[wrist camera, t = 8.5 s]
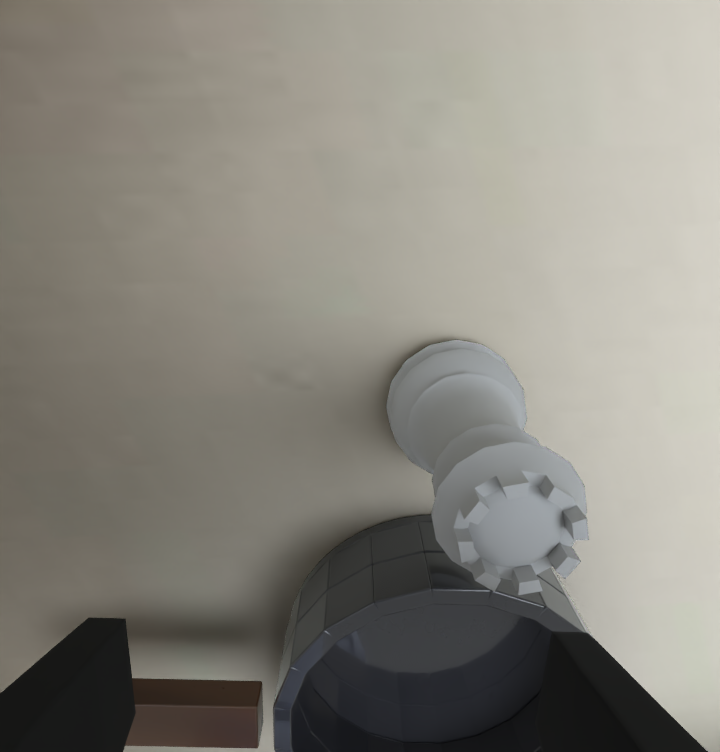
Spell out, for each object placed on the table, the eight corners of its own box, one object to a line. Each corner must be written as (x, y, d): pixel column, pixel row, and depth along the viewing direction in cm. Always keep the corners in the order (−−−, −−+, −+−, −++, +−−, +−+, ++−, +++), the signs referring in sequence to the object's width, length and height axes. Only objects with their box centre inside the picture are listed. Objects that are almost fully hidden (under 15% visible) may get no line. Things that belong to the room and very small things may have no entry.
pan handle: (263, 720, 18) (258, 749, 17) (59, 716, 18) (42, 745, 17) (262, 680, 17) (257, 707, 16) (53, 675, 17) (34, 702, 16)
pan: (548, 743, 22) (587, 853, 18) (289, 738, 22) (275, 847, 18) (591, 518, 19) (651, 594, 15) (288, 509, 19) (270, 584, 15)
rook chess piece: (520, 335, 17) (657, 432, 9) (511, 458, 18) (623, 633, 10) (385, 337, 17) (409, 435, 9) (385, 460, 18) (405, 635, 10)
